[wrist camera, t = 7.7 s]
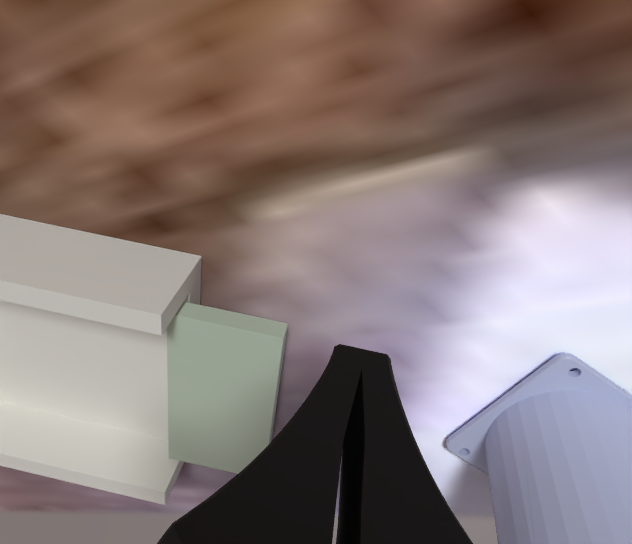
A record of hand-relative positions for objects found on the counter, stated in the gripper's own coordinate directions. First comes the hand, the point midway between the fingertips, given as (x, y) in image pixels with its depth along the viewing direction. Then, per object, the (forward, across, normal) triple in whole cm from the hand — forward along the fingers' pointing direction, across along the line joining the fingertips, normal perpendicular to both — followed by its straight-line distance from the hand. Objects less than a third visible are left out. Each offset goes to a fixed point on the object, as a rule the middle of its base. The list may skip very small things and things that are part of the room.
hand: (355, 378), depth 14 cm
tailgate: (+8, +8, +10) cm, 14 cm away
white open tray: (+9, +13, +10) cm, 19 cm away
